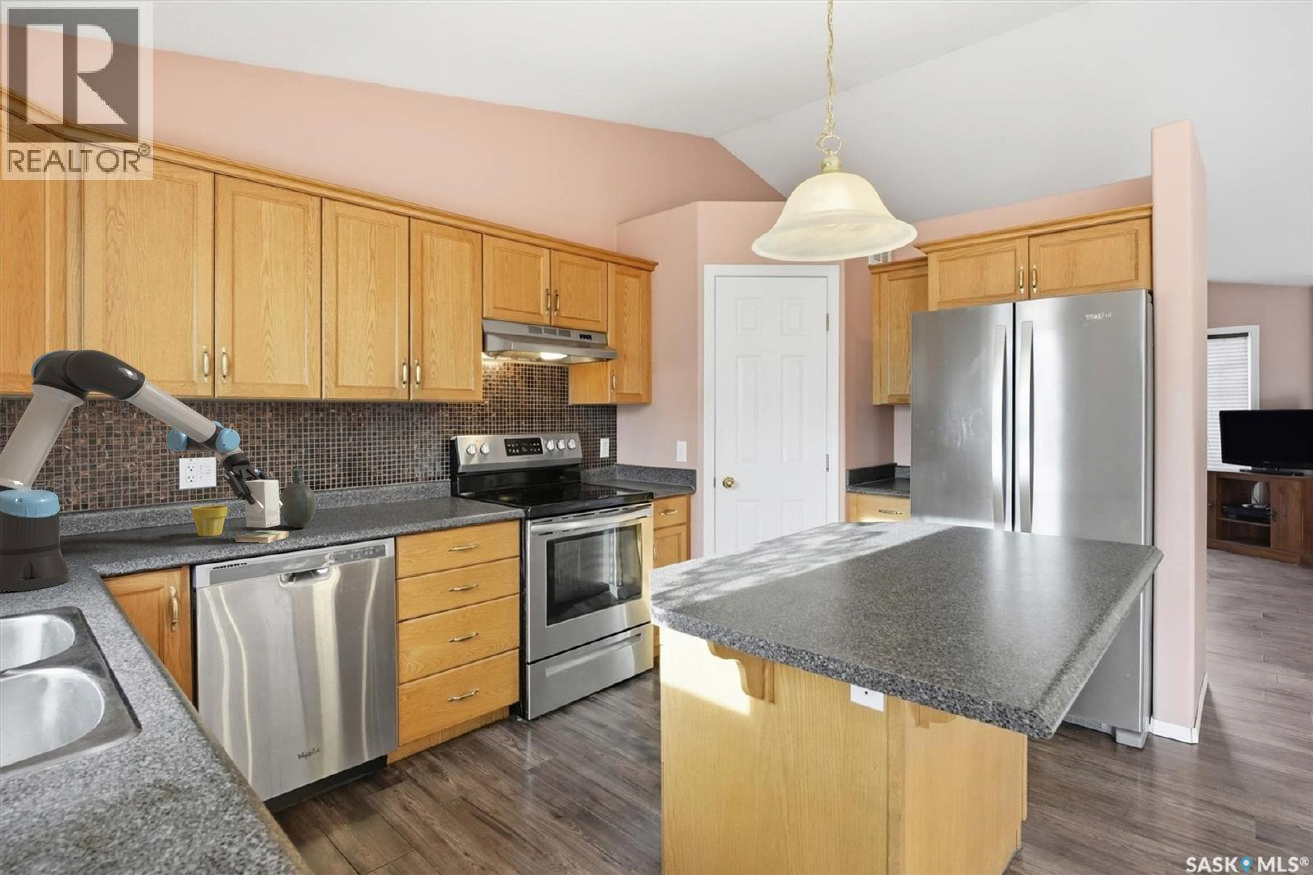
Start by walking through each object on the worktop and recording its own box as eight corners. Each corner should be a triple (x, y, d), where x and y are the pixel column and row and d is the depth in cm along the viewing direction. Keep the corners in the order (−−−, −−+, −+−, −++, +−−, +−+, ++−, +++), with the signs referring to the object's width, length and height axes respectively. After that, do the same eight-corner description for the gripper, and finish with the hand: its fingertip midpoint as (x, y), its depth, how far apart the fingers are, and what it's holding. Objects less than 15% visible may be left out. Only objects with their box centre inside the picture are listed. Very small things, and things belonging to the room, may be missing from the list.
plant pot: (218, 531, 237) (217, 504, 236) (233, 533, 231) (233, 506, 231) (186, 535, 228) (185, 507, 227) (201, 538, 222) (200, 510, 222)
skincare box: (280, 525, 223) (280, 479, 223) (264, 528, 217) (264, 481, 216) (260, 524, 225) (260, 478, 225) (243, 527, 219) (243, 480, 218)
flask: (282, 532, 234) (281, 471, 233) (278, 525, 248) (277, 467, 247) (318, 529, 240) (317, 469, 239) (313, 522, 254) (312, 466, 254)
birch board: (267, 543, 215) (267, 536, 215) (235, 542, 216) (235, 536, 216) (288, 536, 226) (288, 530, 226) (258, 536, 227) (258, 530, 227)
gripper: (252, 464, 234) (289, 512, 230) (199, 469, 215) (238, 521, 211) (263, 450, 232) (300, 497, 228) (211, 453, 214) (250, 505, 209)
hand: (270, 508), depth 220 cm, fingers closed on skincare box, 7 cm apart
